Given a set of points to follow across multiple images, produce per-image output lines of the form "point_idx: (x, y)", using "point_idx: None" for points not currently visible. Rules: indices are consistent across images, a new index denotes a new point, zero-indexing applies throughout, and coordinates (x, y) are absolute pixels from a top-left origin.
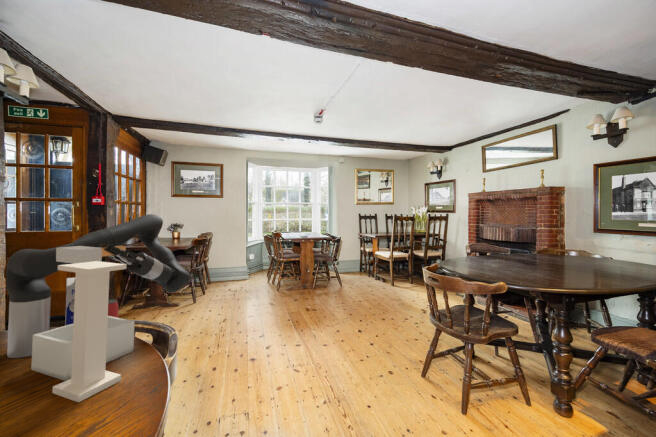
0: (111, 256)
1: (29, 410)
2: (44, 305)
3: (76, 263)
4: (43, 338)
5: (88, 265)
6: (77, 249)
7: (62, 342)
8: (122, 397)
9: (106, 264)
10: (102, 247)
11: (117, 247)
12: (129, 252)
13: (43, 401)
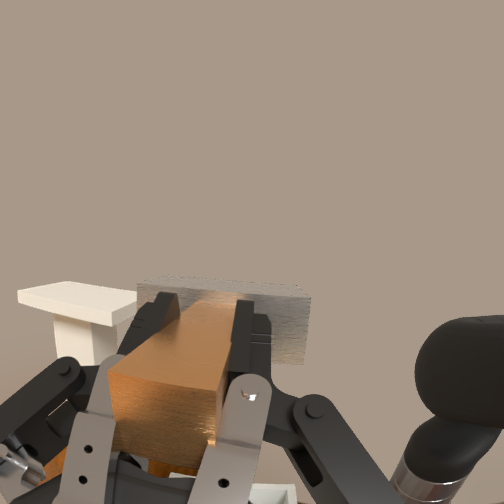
0: (299, 473)
1: (154, 461)
2: (405, 487)
3: (133, 299)
4: (253, 484)
5: (89, 291)
6: (184, 277)
7: (185, 475)
8: (56, 469)
9: (58, 293)
10: (232, 324)
11: (149, 344)
12: (48, 381)
13: (154, 474)
